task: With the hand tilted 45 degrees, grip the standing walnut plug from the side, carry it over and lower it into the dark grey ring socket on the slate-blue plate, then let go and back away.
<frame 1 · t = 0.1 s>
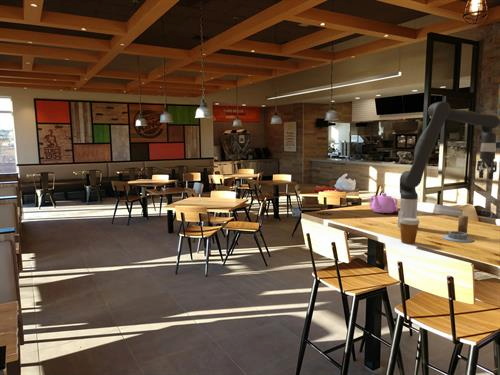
hand: (485, 178, 226), 29 cm above the table, tool pointing down, fingers open, 8 cm apart
ring socket: (457, 239, 201), on the table
disposable coffee cup: (408, 242, 193), on the table
walnut plug: (462, 234, 212), on the table
teapot: (381, 212, 278), on the table
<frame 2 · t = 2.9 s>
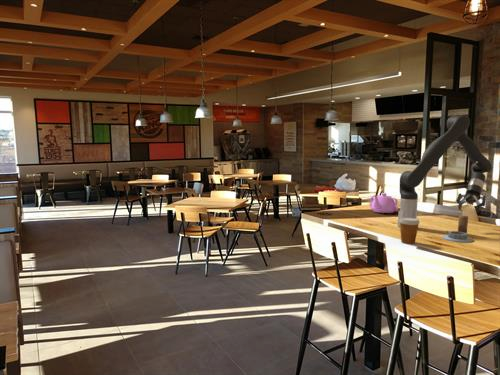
hand: (468, 210, 217), 12 cm above the table, tool tilted 45°, fingers open, 8 cm apart
nothing on the table moved.
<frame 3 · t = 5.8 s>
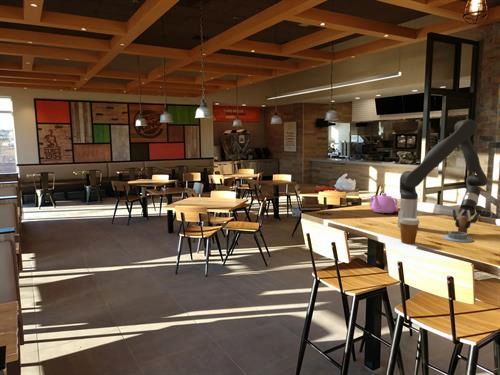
hand: (461, 226, 210), 4 cm above the table, tool tilted 45°, fingers closed on walnut plug, 4 cm apart
walnut plug: (462, 234, 212), on the table, touching gripper
everything else where it was.
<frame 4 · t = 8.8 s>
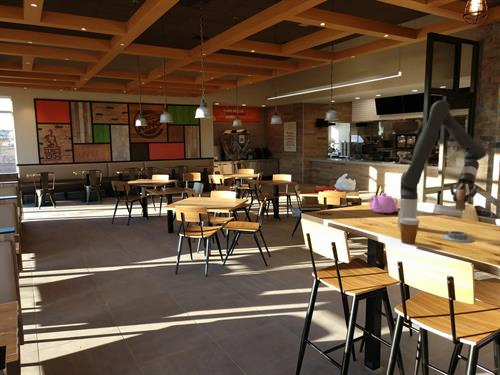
hand: (459, 201, 199), 20 cm above the table, tool tilted 45°, fingers closed on walnut plug, 4 cm apart
walnut plug: (460, 209, 201), point 15 cm above the table, touching gripper
everything else where it was.
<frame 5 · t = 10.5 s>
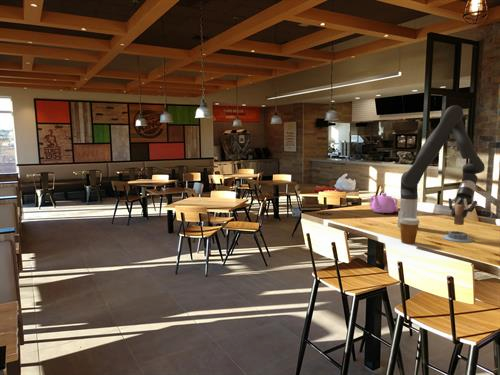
hand: (458, 216, 198), 12 cm above the table, tool tilted 45°, fingers closed on walnut plug, 4 cm apart
walnut plug: (458, 224, 200), point 8 cm above the table, touching gripper
everything else where it was.
when the fingers open (7 cm above the table, at t = 12.0 s): walnut plug drops 1 cm, resting on ring socket.
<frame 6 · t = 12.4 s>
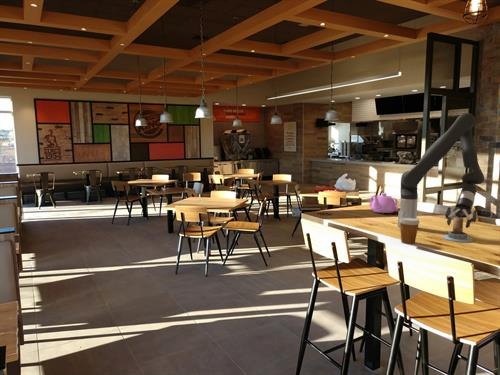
hand: (457, 225, 199), 7 cm above the table, tool tilted 45°, fingers open, 8 cm apart
walnut plug: (457, 237, 201), point 1 cm above the table, touching ring socket
everything else where it was.
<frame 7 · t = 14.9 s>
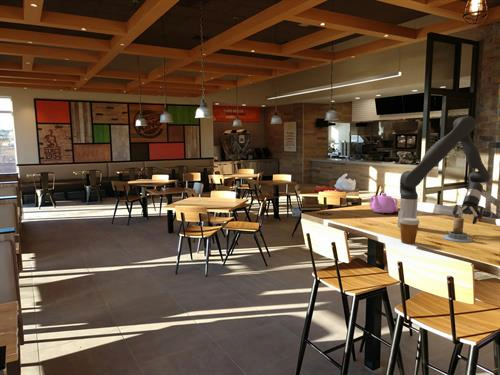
hand: (464, 222, 209), 7 cm above the table, tool tilted 45°, fingers open, 8 cm apart
nothing on the table moved.
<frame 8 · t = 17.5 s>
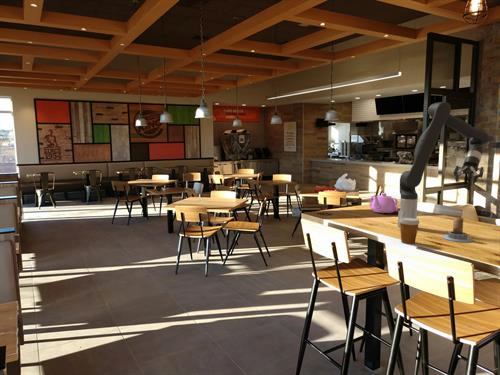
hand: (465, 181, 213), 29 cm above the table, tool tilted 45°, fingers open, 8 cm apart
nothing on the table moved.
at the end: walnut plug 0.1 cm off-centre on the ring socket, point 0.8 cm above the ring socket's base; walnut plug tilted 1°; the gripper is holding nothing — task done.
